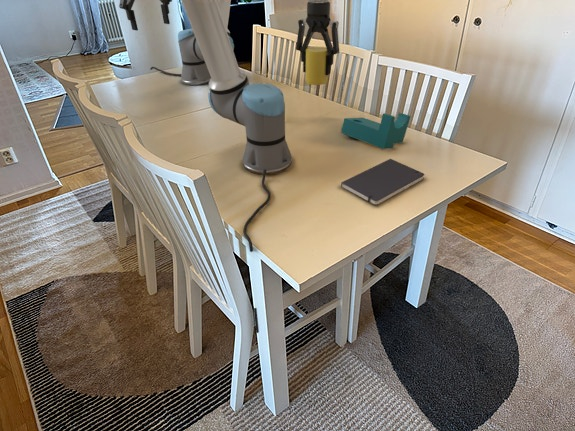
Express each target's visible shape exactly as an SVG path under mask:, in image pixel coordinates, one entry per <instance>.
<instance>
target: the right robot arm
mask: <svg viewBox="0 0 575 431" xmlns="http://www.w3.org/2000/svg"><path fill="white" fill-rule="evenodd" d="M180 1H181V4H182V5H183V10H184V11H185V14H186V17H187V19H188V22H189V24H190V26H191V29H193V32H194V35H195V37H196V40H197V42H198V45H199V47H200V50H201V52H202V55H203V58H204V60H205V63H206V65H207V68H208V70H209V73H210V76H211V79H210V81H209V83H208V88H209V89H208V91H209V92H208V94H207V98H208V103H209V105H210V108H211V109H212V110H213V111H214V112H215V113H216V114H217V115H219V116H220V117H221V118H223V119H226V120H229V121H230V122H231V121H232V122H234V123H236V124H239V125H241V126H243V127H245V136H246V137H245V138H246V143H245V146H244V151H243V155H242V166H243V168H244V170H246V171H247V172H249V173H252V174H254V175H255V174H256V175H262V177H261V178H262V179H261V185H262V188H263V189H264V190H265V192H266V193H267V197H266V200H265V201H264V202H263V203H261V205H259V207H257V208H256V210H254V212H253V213H252V214H251V215H250V217H249V218H248V219H247V220H246V222H245V223H244V226H243V236H244V238H245V239H246V240H247V242H248V246H249V247H248V248H249V252H250V253H252V252H254V247H253V242H252V238H251V237H250V235H249V234H248V232H247V229H248V226H249V224H250V223H251V222H252V220H253V219H254V218H255V217H256V216H257V215H258V213H259V212H260V211H261V210H262V209H263V208H264V207H265V206H267V204H268V203H269V202H270V200H271V196H272V194H271V192H270V190H269V188H267V186H266V183H265V182H266V176H269V175H277V174H280V173H283V172H286V171H287V170H289V169H290V167H291V166H292V163H293V158H292V153H291V150H290V148H289V145H288V143H287V140H286V103H285V95H284V93H283V91H282V90H281V89H280V88H279V87H278V86H276V85H273V84H271V83H267V82H266V83H263V82H253V83H250V82H249V78H248V75H247V73H246V71H245V70H244V69H242V68H240V66H239V64H238V61H237V58H236V55H235V52H234V50H233V49H232V46H231V43H230V40H229V37H228V34H227V31H226V28H225V25H224V22H223V19H222V16H221V13H220V10H219V7H218V4H217V1H216V0H180ZM330 15H331V2H330V0H308V1H307V3H306V18H301V19H298V20H297V23H298V30H297V38H296V39H297V40H296V44H295V50H296V51H299V52H300V62H301V63H302V73H306V48H308V47H309V45H310V42H311V40H312V37H313V35H314V34H315V33H318V34H320V35H321V36H322V39H323V42H324V45H325V47H326V48H327V51H328V55H327V56H326V75H328V76H329V75H330V74H331V70H332V69H331V67H332V65H334V60H335V59H334V58H335V55H337V54H338V53H340V42H339V31H338V28H339V24H340V23H339V21H338V20H336V21H333V20H331V16H330ZM306 26H308V29H307V31H306V35H305V29H306ZM329 26H330V29H331V31H330V32H331V37H330V34H329V29H328V27H329ZM304 37H305V38H304ZM252 308H253V318H254V326H255V327H254V328H255V333H256V334H258V333H260V328H259V319H258V308H257V307H252Z"/></svg>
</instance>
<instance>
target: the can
mask: <svg viewBox="0 0 575 431" xmlns="http://www.w3.org/2000/svg"><path fill="white" fill-rule="evenodd" d="M327 55H328V51H327V48H326V46H308V47H307V48H306V72H305V80H304V81H305V83H306V84H308V85H310V86H311V85H312V86H322V85H325V84H328V78H329V75H326V56H327Z"/></svg>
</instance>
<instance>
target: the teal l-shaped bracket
mask: <svg viewBox="0 0 575 431" xmlns="http://www.w3.org/2000/svg"><path fill="white" fill-rule="evenodd" d="M411 117H412V116H411V115H408V114H407V113H404V112H403V113H402V112H398V115H397V117H396V116H394V115H391V114H389V113H382V117H381V120H380V122H378V121H375V120H371V119H369V118H365V117H344V118H343V122H342V126H341V131H340V133H341V134H344V135H345V136H347V137H348V136H349V137H351V138H353V139H356V140H359V141H361V142H363V143H367V144H368V145H372V146H374V147H377V148H379V149H382V150H389V149H394V145H396V144H403V143H404V139H405V138H406V137H405V136H406V133H407V129H408V126H409V123H410V119H411Z"/></svg>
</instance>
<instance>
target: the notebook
mask: <svg viewBox="0 0 575 431" xmlns="http://www.w3.org/2000/svg"><path fill="white" fill-rule="evenodd" d="M424 176H425V173H424V172H422V171H420V170H417V169H415V168H413V167H410V166H408V165H406V164H404V163H401V162H399V161H397V160H395V159H393V158H389V159H387V160H385V161H382V162H380V163H379V164H377V165H375V166H372V167H370V168H368V169H366V170H364V171H362V172H360V173H358V174H356V175H353V176H351V177H350V178H348V179H345V180H344V181H341V182H340V183H341V184H340V187H341V188H342V189H344V190H345V191H347V192H349V193H350V194H353V195H355V196H356V197H358V198H360V199H362V200H363V201H365V202H367V203H369V204H371V205H373V206H379V205H381V204H382V203H384V202H386V201H388V200H390V199H391V198H393V197H395V196H397V195H398V194H400V193H402V192H404V191H406V190H407V189H409V188H411V187H413V186H415V185H416V184H418V183H420V182H422V181H423V180H424Z"/></svg>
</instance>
